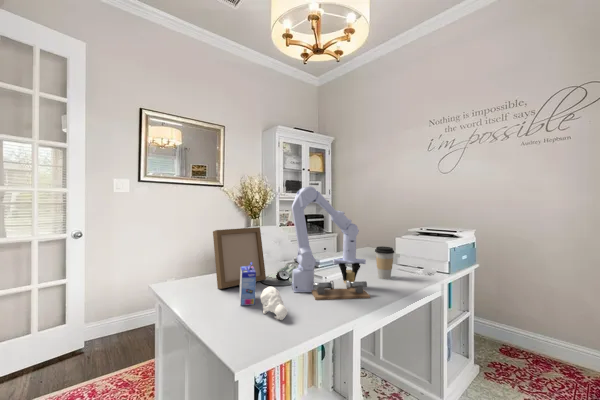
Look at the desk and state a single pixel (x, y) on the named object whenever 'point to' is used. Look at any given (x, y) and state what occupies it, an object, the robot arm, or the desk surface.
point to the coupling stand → (339, 291)
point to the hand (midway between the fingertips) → (348, 280)
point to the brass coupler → (350, 276)
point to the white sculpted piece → (273, 302)
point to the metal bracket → (285, 270)
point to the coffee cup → (384, 261)
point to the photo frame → (237, 254)
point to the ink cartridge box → (247, 285)
